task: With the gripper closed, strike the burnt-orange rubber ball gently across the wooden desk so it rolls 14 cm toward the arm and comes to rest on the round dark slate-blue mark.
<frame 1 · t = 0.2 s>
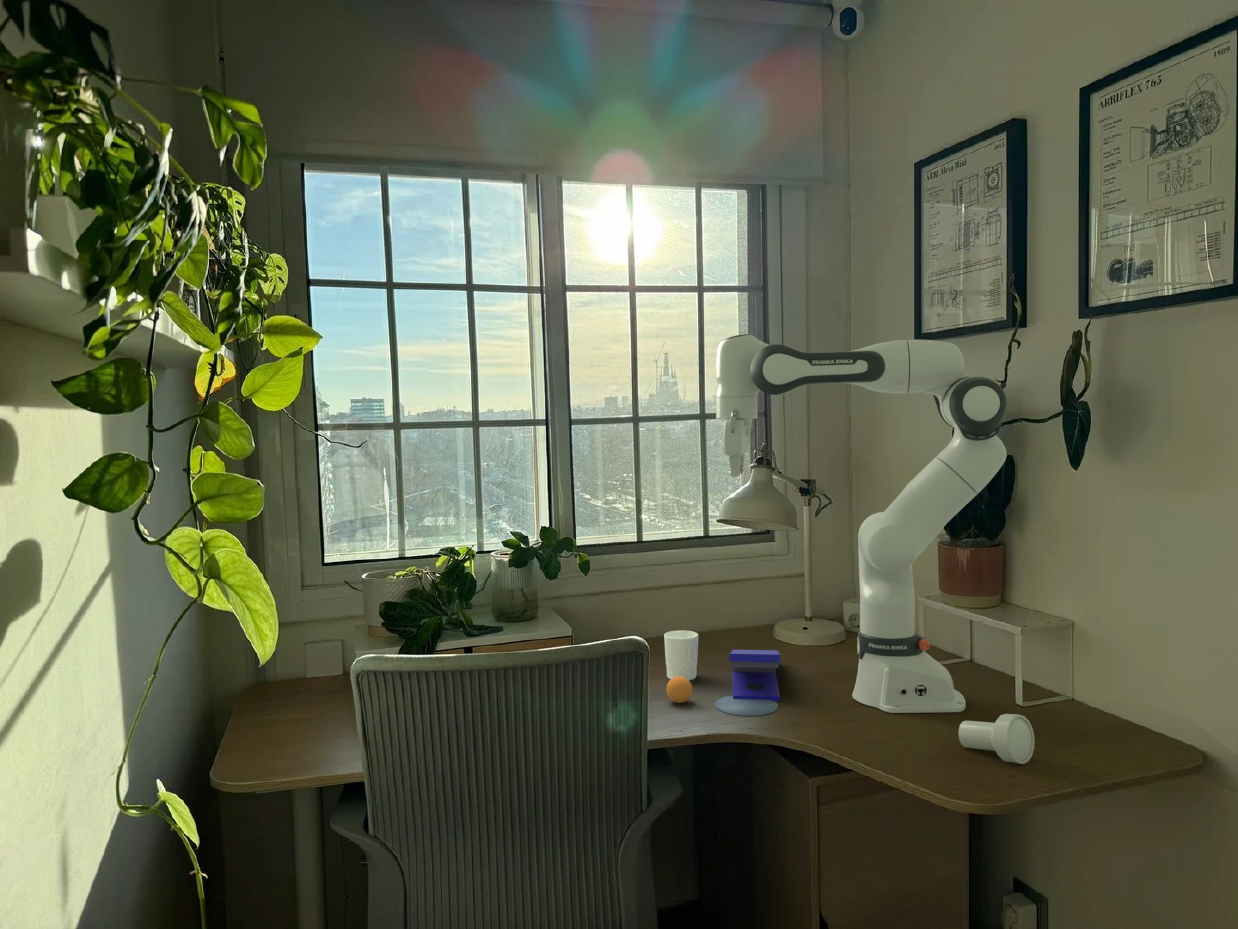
hand: (737, 475, 188), 48 cm above the table, tool pointing down, fingers open, 8 cm apart
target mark: (746, 705, 181), on the table
ball: (679, 689, 184), on the table
stapler: (755, 683, 198), on the table
spotlight: (997, 758, 152), on the table
white cup: (681, 678, 202), on the table
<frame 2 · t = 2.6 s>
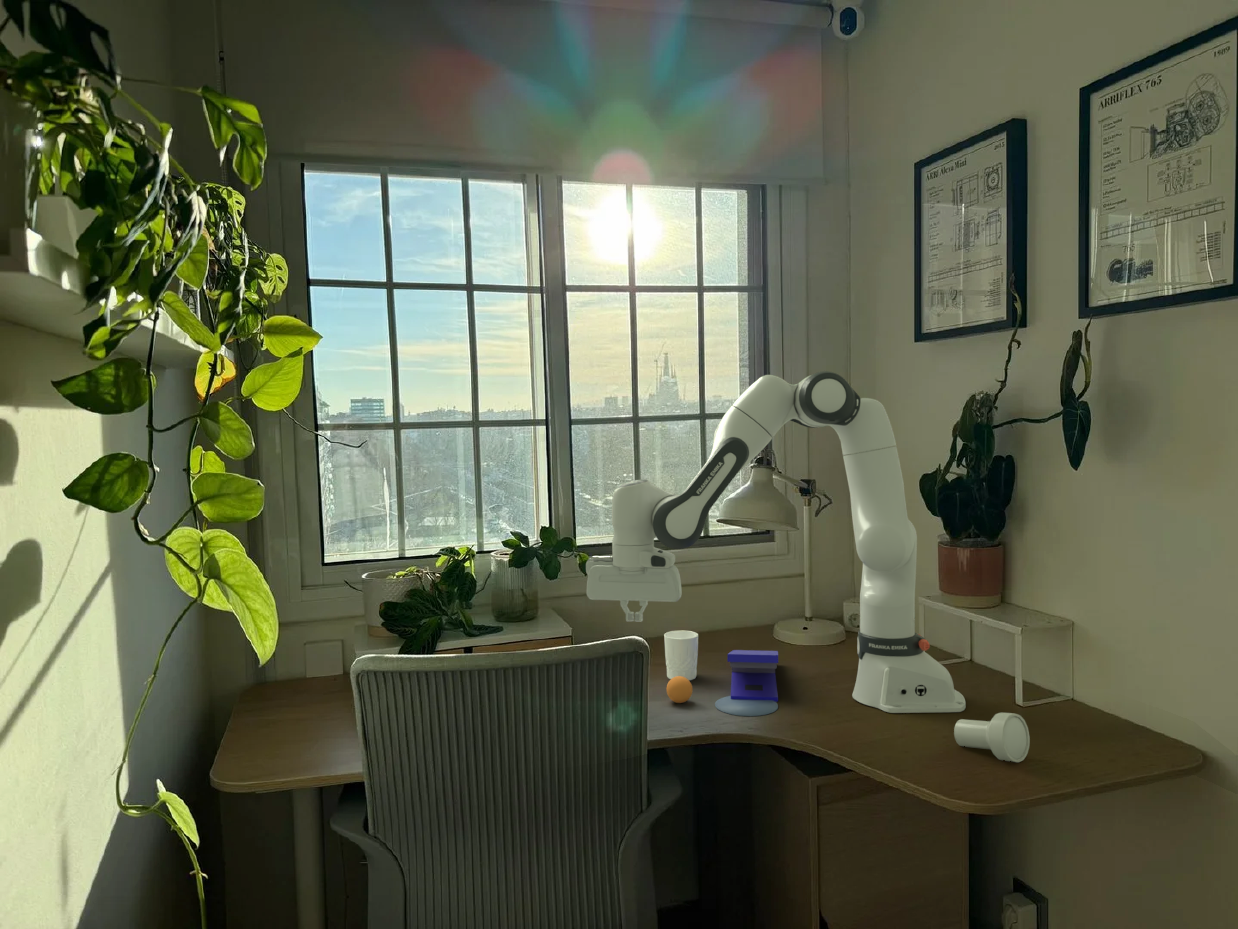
hand: (634, 621, 185), 17 cm above the table, tool pointing down, fingers closed
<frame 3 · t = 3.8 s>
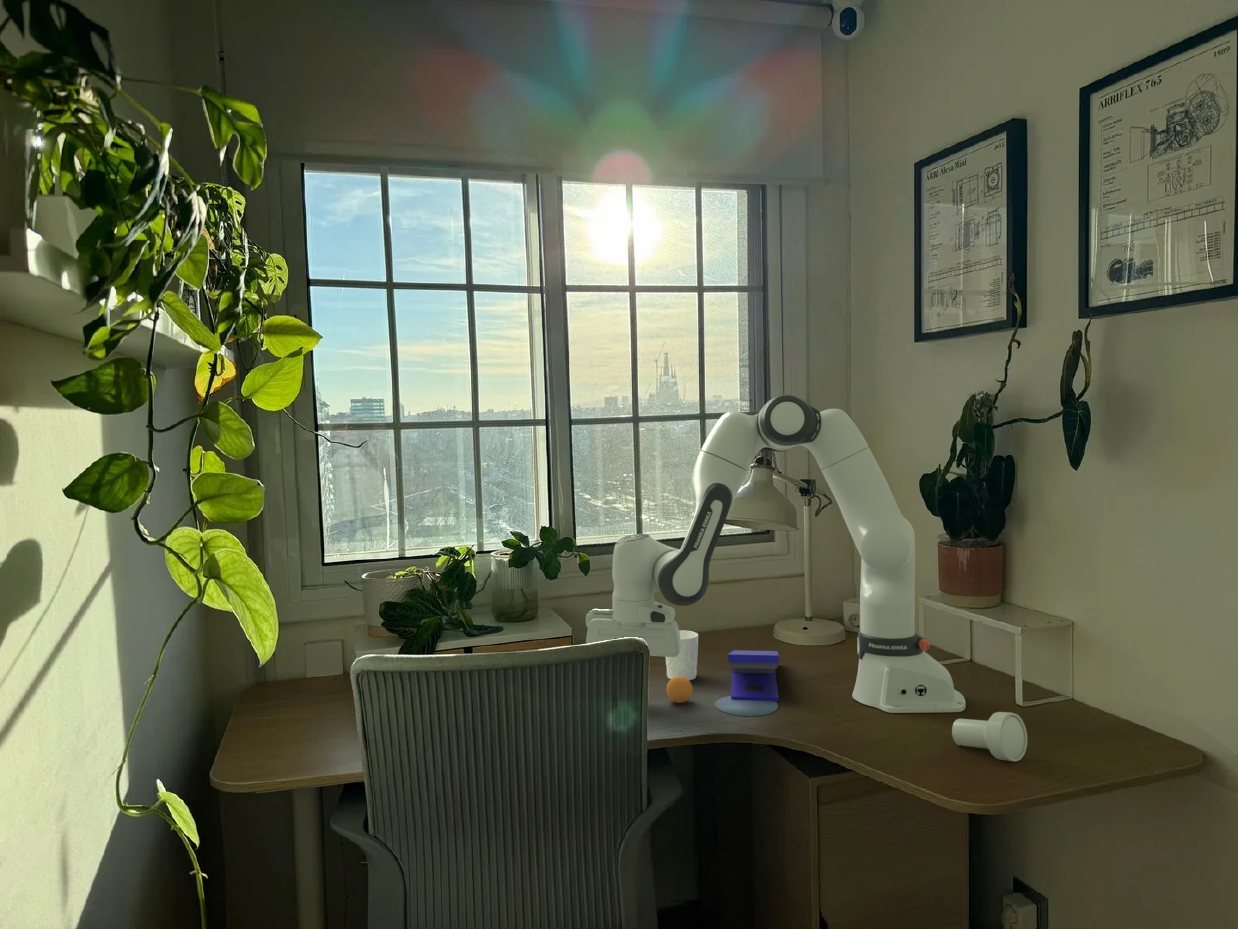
hand: (633, 674, 186), 5 cm above the table, tool pointing down, fingers closed
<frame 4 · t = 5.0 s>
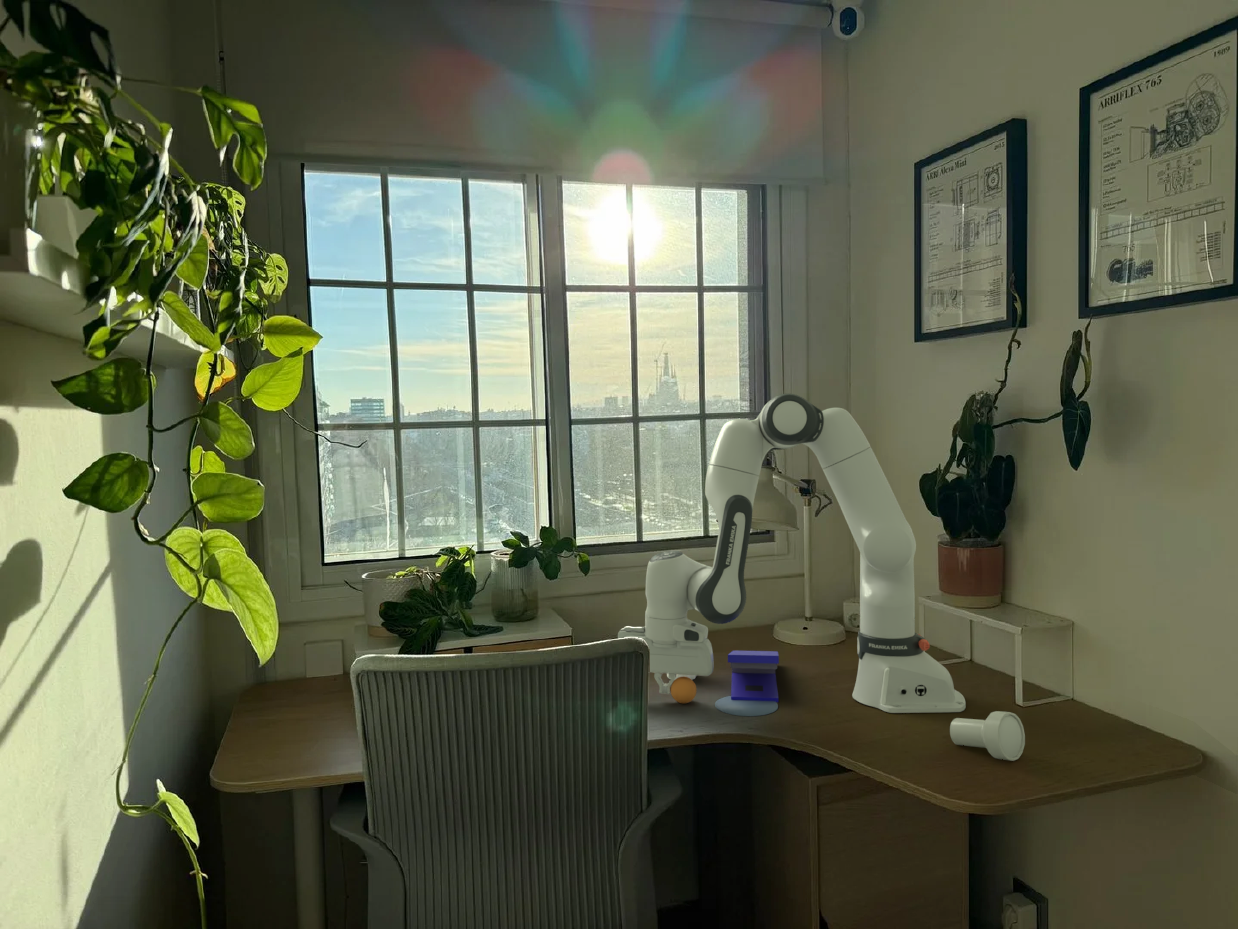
hand: (665, 693, 184), 2 cm above the table, tool pointing down, fingers closed
ball: (683, 690, 184), on the table, touching gripper
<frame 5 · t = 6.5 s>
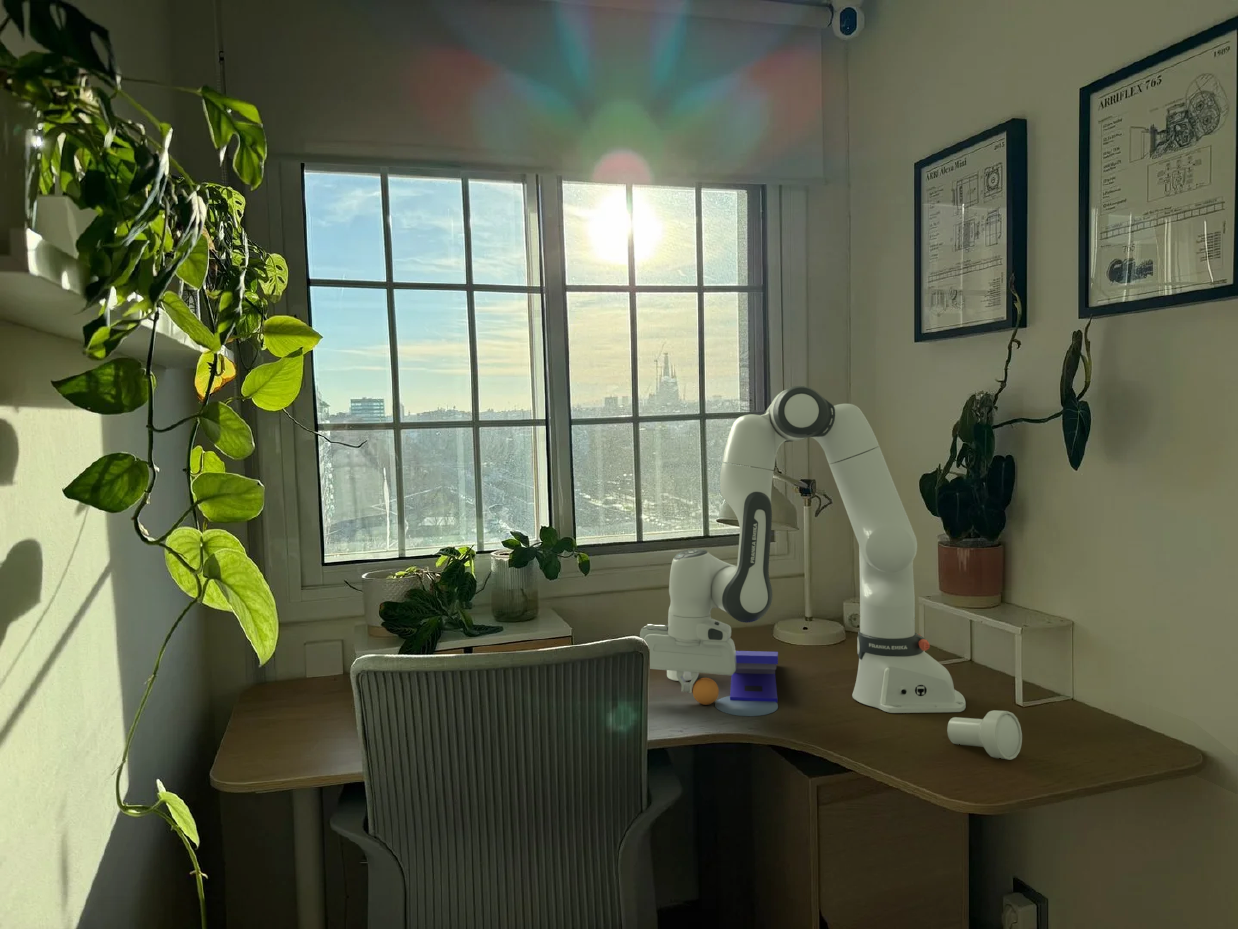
hand: (687, 691, 183), 2 cm above the table, tool pointing down, fingers closed
ball: (705, 691, 182), on the table, touching gripper
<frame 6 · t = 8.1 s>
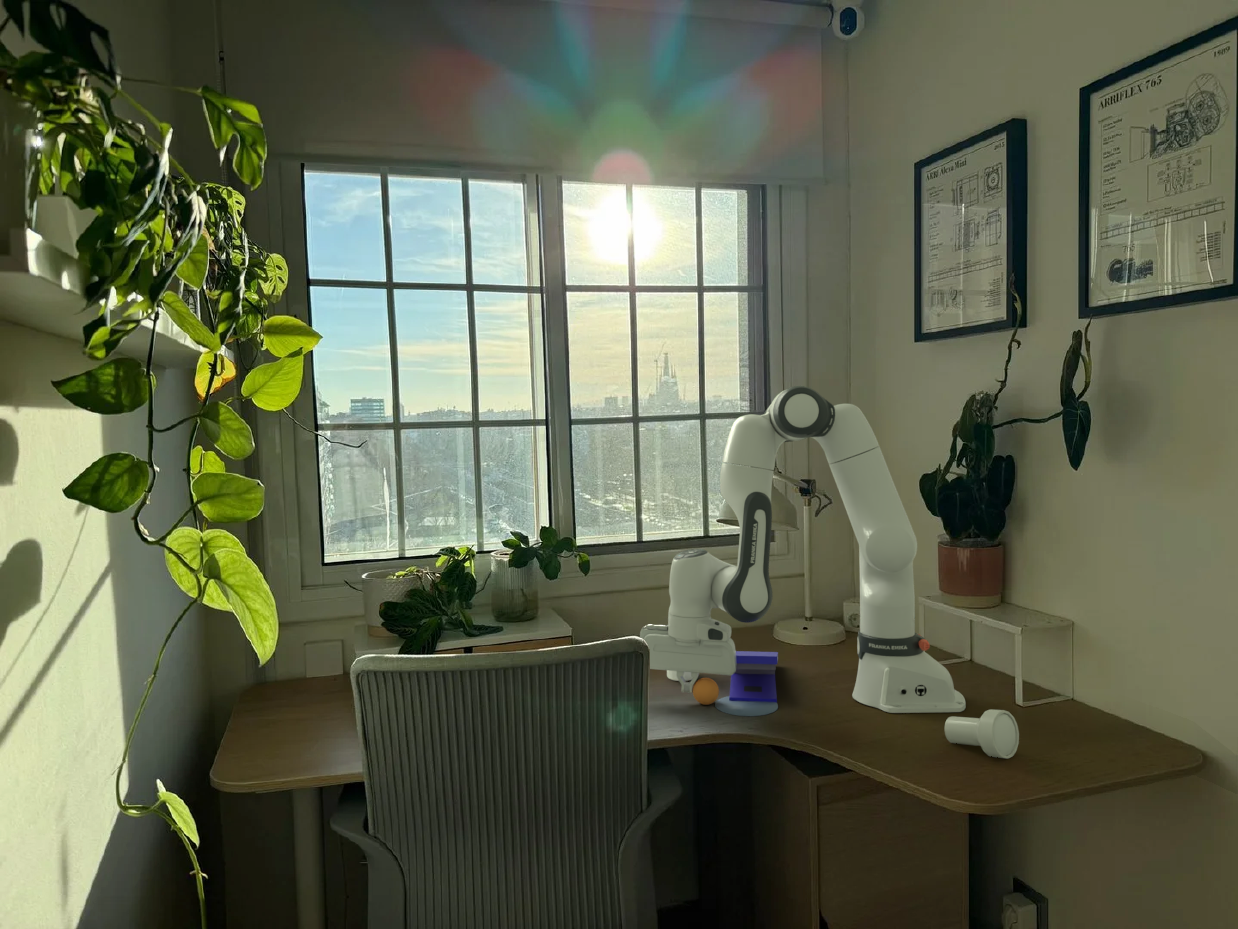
hand: (687, 692, 183), 2 cm above the table, tool pointing down, fingers closed
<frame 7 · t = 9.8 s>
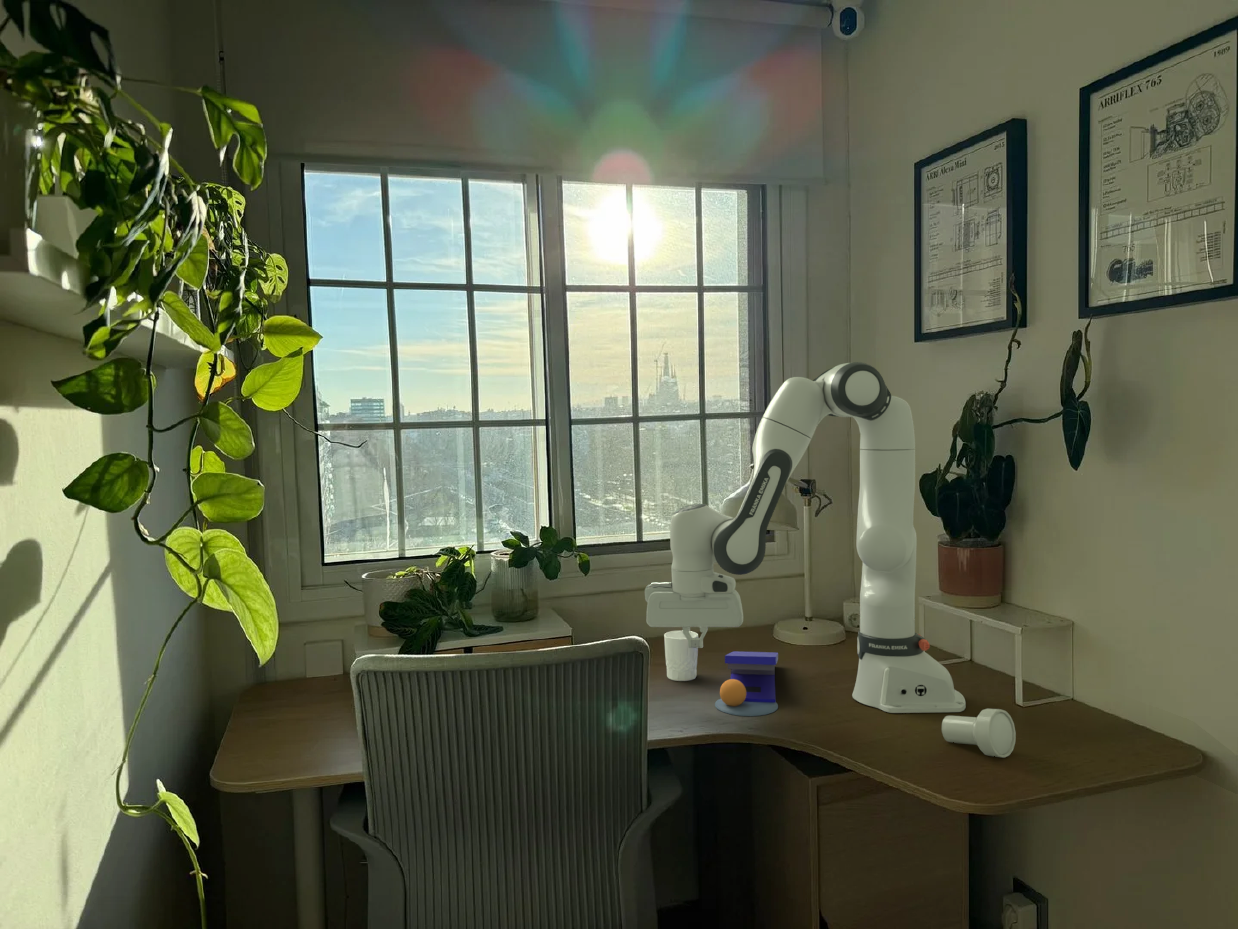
hand: (695, 647, 182), 12 cm above the table, tool pointing down, fingers closed
ball: (733, 692, 181), on the table
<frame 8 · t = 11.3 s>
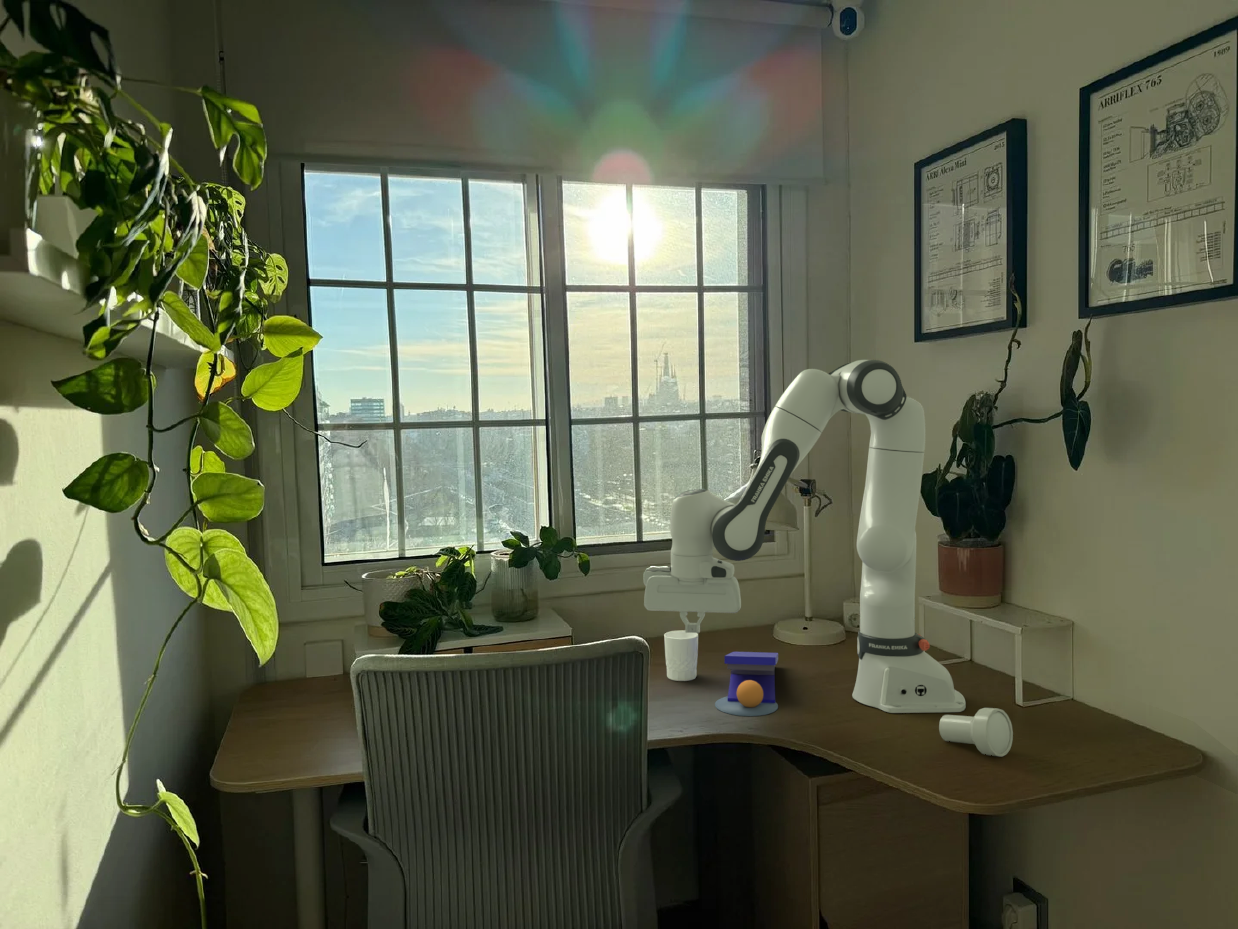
hand: (692, 632, 182), 15 cm above the table, tool pointing down, fingers closed
ball: (750, 693, 180), on the table
at the end: ball 1.0 cm from the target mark (horizontally); ball at rest at the end (0.0 cm/s); ball moved 14.8 cm from its start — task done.
